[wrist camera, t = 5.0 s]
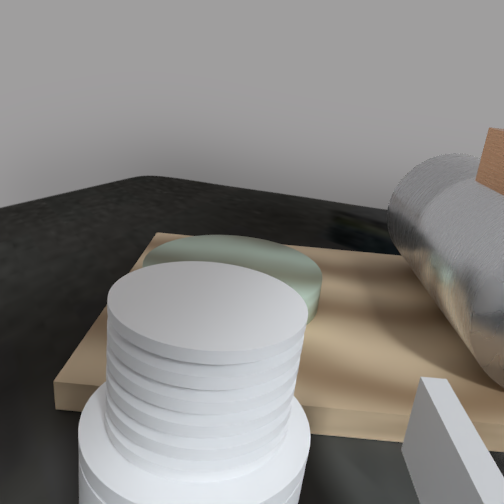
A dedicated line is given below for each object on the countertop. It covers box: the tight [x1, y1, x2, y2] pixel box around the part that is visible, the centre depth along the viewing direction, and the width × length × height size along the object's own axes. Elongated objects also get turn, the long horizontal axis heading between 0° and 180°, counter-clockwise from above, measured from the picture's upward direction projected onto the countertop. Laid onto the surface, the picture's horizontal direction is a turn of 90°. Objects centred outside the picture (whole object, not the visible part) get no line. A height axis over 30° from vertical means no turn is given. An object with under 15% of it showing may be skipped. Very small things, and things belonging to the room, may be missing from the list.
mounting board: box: [53, 233, 504, 452], centre depth 29 cm, size 20×27×4 cm
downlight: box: [78, 261, 311, 504], centre depth 13 cm, size 8×7×10 cm
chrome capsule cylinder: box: [387, 128, 504, 388], centre depth 28 cm, size 18×9×12 cm, turn 178°
